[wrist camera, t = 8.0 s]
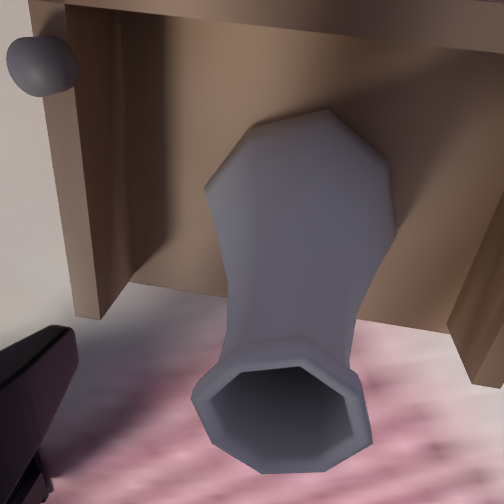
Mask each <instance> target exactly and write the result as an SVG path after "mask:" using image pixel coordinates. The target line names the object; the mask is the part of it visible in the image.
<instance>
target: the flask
mask: <svg viewBox="0 0 504 504" xmlns="http://www.w3.org/2000/svg"><path fill="white" fill-rule="evenodd" d="M204 191H205V195H206V199H207V202H208V206H209V209H210V212H211V216H212V219H213V222H214V226H215V229H216V232H217V237H218V241H219V245H220V250H221V254H222V259H223V263H224V267H225V272H226V276H227V280H228V314H227V332H226V336H225V340H224V344H223V347H222V351H221V355H220V359H219V362H218V363H217V364H216V365H215V366H214V367H213V368H212V369H211V370H209V371H208V372H207V373H206V374H205V375H204V376H203V377H202V378H201V379H200V380H199V381H198V383H197V384H196V386H195V387H194V388H193V392H192V395H191V400H192V402H193V404H194V407H195V409H196V411H197V413H198V415H199V417H200V419H201V421H202V423H203V426H204V428H205V430H206V432H207V434H208V436H209V438H210V440H211V442H212V444H213V445H215V446H217V447H218V448H220V449H222V450H223V451H225V452H227V453H228V454H230V455H232V456H233V457H235V458H236V459H238V460H240V461H241V462H243V463H245V464H246V465H248V466H250V467H251V468H253V469H255V470H256V471H258V472H259V473H261V474H283V473H309V472H325V471H327V470H329V469H330V468H332V467H334V466H336V465H337V464H339V463H341V462H342V461H344V460H346V459H347V458H349V457H351V456H353V455H354V454H356V453H358V452H359V451H361V450H363V449H364V448H366V447H368V446H370V445H371V444H373V442H372V431H371V426H370V422H369V417H368V412H367V407H366V402H365V398H364V393H363V388H362V384H361V381H360V379H359V377H358V374H356V373H355V372H354V371H352V370H351V369H350V363H349V358H350V352H351V346H352V340H353V334H354V328H355V322H356V316H357V312H358V310H359V308H360V306H361V304H362V302H363V299H364V297H365V295H366V293H367V291H368V289H369V287H370V284H371V282H372V280H373V278H374V276H375V274H376V272H377V270H378V268H379V266H380V264H381V263H382V261H383V259H384V257H385V256H386V254H387V252H388V250H389V249H390V247H391V245H392V244H393V242H394V240H395V237H396V235H397V233H398V232H397V224H396V216H395V208H394V200H393V192H392V184H391V176H390V168H389V161H387V160H386V159H385V158H384V157H383V156H382V155H381V154H379V153H378V152H377V151H376V150H375V149H374V148H373V147H371V146H370V145H369V144H368V143H367V142H366V141H365V140H363V139H362V138H361V137H360V136H359V135H358V134H357V133H355V132H354V131H353V130H352V129H351V128H350V127H349V126H347V125H346V124H345V123H344V122H343V121H342V120H341V119H339V118H338V117H337V116H336V115H335V114H334V113H333V112H332V111H330V110H329V109H324V110H320V111H317V112H313V113H309V114H305V115H301V116H297V117H293V118H289V119H285V120H282V121H278V122H274V123H270V124H266V125H262V126H258V127H254V128H250V129H248V130H247V131H246V132H245V134H244V135H243V136H242V137H241V139H240V140H239V141H238V143H237V144H236V145H235V147H234V148H233V149H232V151H231V152H230V153H229V155H228V156H227V157H226V159H225V160H224V161H223V163H222V164H221V165H220V166H219V168H218V169H217V170H216V172H215V173H214V174H213V176H212V177H211V178H210V180H209V181H208V182H207V184H206V185H205V186H204Z"/></svg>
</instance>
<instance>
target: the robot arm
mask: <svg viewBox="0 0 504 504" xmlns="http://www.w3.org/2000/svg"><path fill="white" fill-rule="evenodd" d="M77 365H78V351H77V344H76V338H75V333H74V330H73V329H72V328H70V327H65V326H60V325H50V326H48V327H46V328H44V329H42V330H40V331H38V332H36V333H34V334H32V335H30V336H28V337H26V338H24V339H22V340H20V341H18V342H16V343H14V344H12V345H10V346H8V347H7V348H5V349H3V350H1V351H0V504H40V503H43V502H45V501H46V500H47V498H48V496H49V494H48V490H47V486H46V482H45V479H44V475H43V471H42V467H41V464H40V460H39V456H38V452H37V449H38V447H39V445H40V444H41V442H42V440H43V438H44V436H45V434H46V432H47V430H48V428H49V426H50V424H51V422H52V420H53V418H54V415H55V413H56V411H57V409H58V407H59V405H60V403H61V401H62V398H63V396H64V394H65V392H66V390H67V388H68V386H69V384H70V381H71V379H72V377H73V375H74V373H75V371H76V368H77Z"/></svg>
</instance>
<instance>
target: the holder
mask: <svg viewBox="0 0 504 504" xmlns="http://www.w3.org/2000/svg"><path fill="white" fill-rule="evenodd" d="M28 4H29V10H30V17H31V24H32V30H33V37H23V38H18V39H16V40H15V41H13V42H12V43H11V45H10V46H9V48H8V51H7V57H6V60H7V67H8V70H9V73H10V75H11V77H12V79H13V80H14V82H15V83H16V84H17V86H18V87H19V88H20V89H22V90H23V91H24V92H26V93H27V94H30V95H32V96H36V97H43V103H44V110H45V116H46V123H47V130H48V136H49V143H50V149H51V156H52V163H53V169H54V176H55V183H56V189H57V196H58V202H59V209H60V216H61V222H62V229H63V236H64V242H65V249H66V255H67V262H68V269H69V275H70V282H71V289H72V295H73V302H74V308H75V315H76V316H78V317H84V318H90V319H96V320H101V319H102V317H103V316H104V315H105V313H106V312H107V311H108V309H109V308H110V306H111V305H112V304H113V302H114V301H115V300H116V298H117V297H118V295H119V294H120V293H121V291H122V290H123V289H124V287H125V286H126V285H127V283H128V282H134V283H140V284H146V285H152V286H158V287H165V288H171V289H177V290H183V291H189V292H195V293H201V294H207V295H214V296H220V297H226V298H228V280H227V276H226V272H225V267H224V263H223V259H222V254H221V250H220V245H219V241H218V237H217V232H216V229H215V226H214V222H213V219H212V216H211V212H210V209H209V206H208V202H207V199H206V195H205V191H204V186H205V185H206V184H207V182H208V181H209V180H210V178H211V177H212V176H213V174H214V173H215V172H216V170H217V169H218V168H219V166H220V165H221V164H222V163H223V161H224V160H225V159H226V157H227V156H228V155H229V153H230V152H231V151H232V149H233V148H234V147H235V145H236V144H237V143H238V141H239V140H240V139H241V137H242V136H243V135H244V134H245V132H246V131H247V130H248V129H250V128H254V127H258V126H262V125H266V124H270V123H274V122H278V121H282V120H285V119H289V118H293V117H297V116H301V115H305V114H309V113H313V112H317V111H320V110H324V109H329V110H330V111H332V112H333V113H334V114H335V115H336V116H337V117H338V118H339V119H341V120H342V121H343V122H344V123H345V124H346V125H347V126H349V127H350V128H351V129H352V130H353V131H354V132H355V133H357V134H358V135H359V136H360V137H361V138H362V139H363V140H365V141H366V142H367V143H368V144H369V145H370V146H371V147H373V148H374V149H375V150H376V151H377V152H378V153H379V154H381V155H382V156H383V157H384V158H385V159H386V160H387V161H389V168H390V176H391V184H392V192H393V200H394V208H395V216H396V224H397V232H398V233H397V235H396V237H395V240H394V242H393V244H392V245H391V247H390V249H389V250H388V252H387V254H386V256H385V257H384V259H383V261H382V263H381V264H380V266H379V268H378V270H377V272H376V274H375V276H374V278H373V280H372V282H371V284H370V287H369V289H368V291H367V293H366V295H365V297H364V299H363V302H362V304H361V306H360V308H359V310H358V312H357V316H356V319H361V320H367V321H373V322H379V323H385V324H391V325H397V326H403V327H410V328H416V329H422V330H428V331H434V332H440V333H446V334H451V337H452V339H453V341H454V344H455V346H456V348H457V351H458V353H459V355H460V358H461V360H462V362H463V365H464V367H465V369H466V372H467V374H468V376H469V379H470V381H471V383H472V384H475V385H481V386H487V387H493V388H499V389H500V388H501V387H502V385H503V383H504V3H498V2H489V1H479V0H28Z"/></svg>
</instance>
